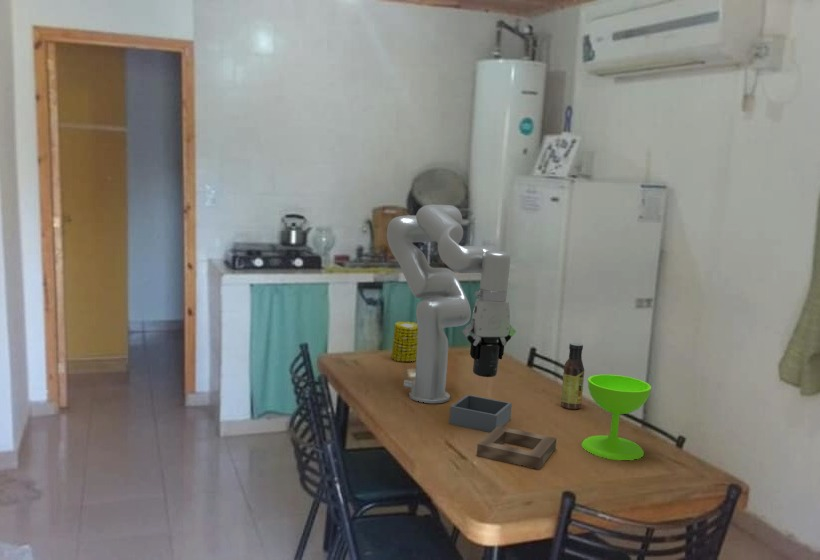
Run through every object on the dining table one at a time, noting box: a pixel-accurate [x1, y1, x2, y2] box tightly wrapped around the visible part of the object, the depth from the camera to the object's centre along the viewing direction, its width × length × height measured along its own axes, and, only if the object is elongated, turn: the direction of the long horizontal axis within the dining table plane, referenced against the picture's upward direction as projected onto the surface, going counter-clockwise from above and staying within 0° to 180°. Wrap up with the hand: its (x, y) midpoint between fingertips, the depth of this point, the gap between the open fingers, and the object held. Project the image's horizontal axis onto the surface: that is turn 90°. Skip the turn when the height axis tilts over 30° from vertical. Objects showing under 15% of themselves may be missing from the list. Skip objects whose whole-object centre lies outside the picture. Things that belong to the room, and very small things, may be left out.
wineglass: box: [581, 374, 652, 461], centre depth 197 cm, size 16×16×18 cm
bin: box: [448, 394, 513, 433], centre depth 213 cm, size 14×14×5 cm
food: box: [391, 321, 418, 363], centre depth 276 cm, size 15×12×10 cm
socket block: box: [476, 426, 557, 470], centre depth 192 cm, size 16×16×3 cm
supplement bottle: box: [472, 337, 500, 378], centre depth 209 cm, size 7×7×12 cm
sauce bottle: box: [560, 342, 585, 410], centre depth 231 cm, size 7×6×20 cm
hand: (486, 357), depth 210 cm, fingers closed on supplement bottle, 6 cm apart
